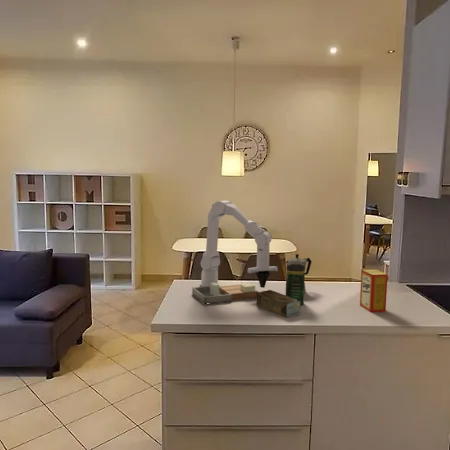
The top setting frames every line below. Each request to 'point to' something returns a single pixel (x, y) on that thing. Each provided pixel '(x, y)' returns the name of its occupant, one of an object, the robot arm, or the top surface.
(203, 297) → the tray
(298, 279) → the coffee jar
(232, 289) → the walnut board
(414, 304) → the top surface
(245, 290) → the tile
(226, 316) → the top surface
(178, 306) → the top surface
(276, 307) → the beverage carton
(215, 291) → the tile
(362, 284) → the baking soda box
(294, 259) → the coffeepot
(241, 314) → the top surface
